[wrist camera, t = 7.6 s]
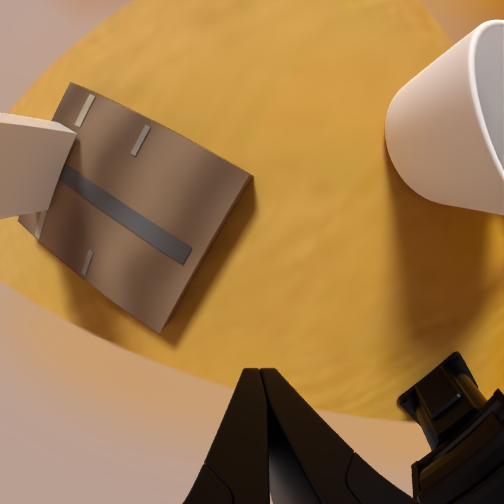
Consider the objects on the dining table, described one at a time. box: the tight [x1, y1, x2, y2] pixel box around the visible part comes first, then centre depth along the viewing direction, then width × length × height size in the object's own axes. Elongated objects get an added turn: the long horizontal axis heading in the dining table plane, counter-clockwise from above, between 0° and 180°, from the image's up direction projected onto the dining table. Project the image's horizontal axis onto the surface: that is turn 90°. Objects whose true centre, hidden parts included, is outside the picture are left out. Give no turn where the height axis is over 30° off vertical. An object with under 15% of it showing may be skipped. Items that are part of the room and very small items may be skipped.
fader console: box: [18, 82, 253, 334], centre depth 19 cm, size 16×12×2 cm
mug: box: [385, 20, 504, 216], centre depth 11 cm, size 9×12×11 cm
